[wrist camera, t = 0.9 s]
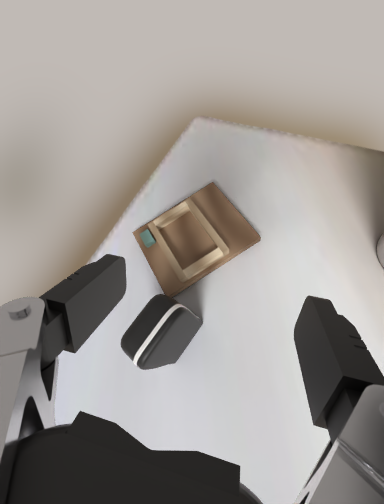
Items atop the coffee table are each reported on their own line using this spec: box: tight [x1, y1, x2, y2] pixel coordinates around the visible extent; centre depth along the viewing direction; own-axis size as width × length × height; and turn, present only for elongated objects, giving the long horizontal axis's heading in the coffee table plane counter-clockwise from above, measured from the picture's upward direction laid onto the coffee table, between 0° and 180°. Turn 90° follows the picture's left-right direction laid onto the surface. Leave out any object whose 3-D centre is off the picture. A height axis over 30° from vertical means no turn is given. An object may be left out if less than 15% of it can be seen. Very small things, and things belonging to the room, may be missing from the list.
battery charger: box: [121, 294, 203, 370], centre depth 26 cm, size 7×4×11 cm, turn 142°
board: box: [133, 182, 261, 298], centre depth 35 cm, size 16×13×3 cm
